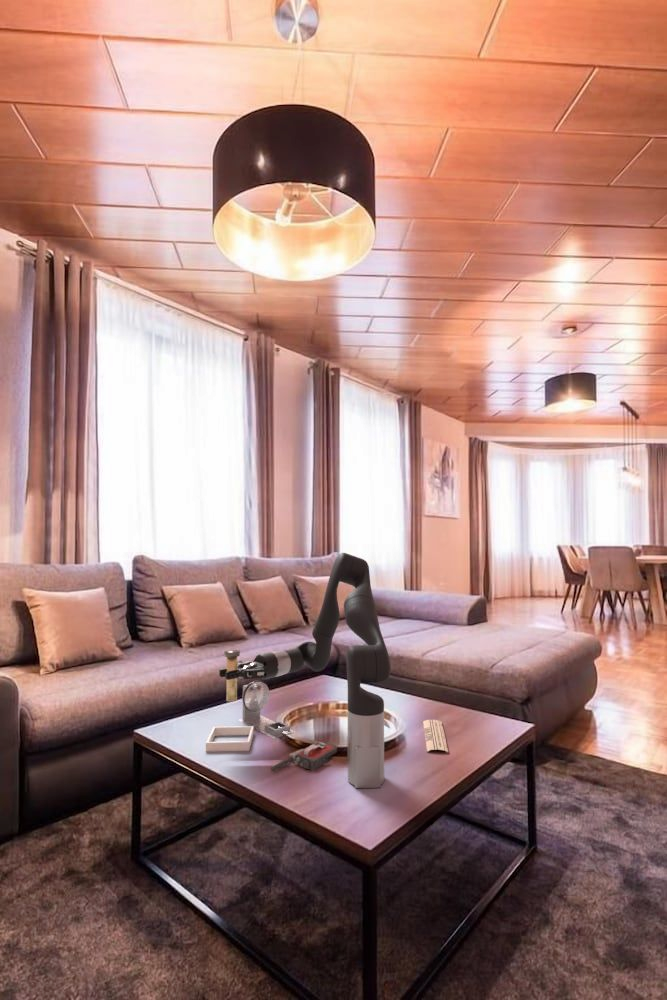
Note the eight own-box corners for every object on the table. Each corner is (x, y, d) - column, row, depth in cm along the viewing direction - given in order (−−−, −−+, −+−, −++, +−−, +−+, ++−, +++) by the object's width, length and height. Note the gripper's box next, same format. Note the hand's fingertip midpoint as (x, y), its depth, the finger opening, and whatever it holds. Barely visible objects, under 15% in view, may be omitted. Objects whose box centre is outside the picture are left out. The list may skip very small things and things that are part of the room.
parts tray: (249, 754, 149) (249, 742, 149) (205, 755, 148) (205, 742, 148) (253, 738, 161) (253, 726, 161) (213, 738, 160) (213, 726, 160)
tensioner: (297, 734, 163) (297, 689, 164) (271, 743, 157) (272, 695, 158) (261, 717, 178) (261, 675, 179) (236, 724, 172) (236, 680, 173)
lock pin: (238, 702, 153) (238, 653, 154) (222, 702, 153) (223, 653, 154) (240, 697, 158) (240, 649, 158) (225, 697, 158) (225, 649, 158)
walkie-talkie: (317, 748, 154) (268, 773, 139) (317, 732, 155) (268, 755, 139) (341, 756, 149) (293, 783, 133) (341, 739, 149) (293, 765, 133)
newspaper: (448, 756, 150) (448, 749, 150) (423, 755, 151) (423, 748, 151) (441, 725, 173) (441, 720, 173) (419, 724, 174) (419, 719, 174)
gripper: (259, 648, 171) (211, 657, 159) (285, 656, 160) (235, 666, 149) (259, 672, 170) (210, 682, 159) (285, 681, 160) (235, 693, 148)
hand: (223, 674), depth 154 cm, fingers closed on lock pin, 3 cm apart
